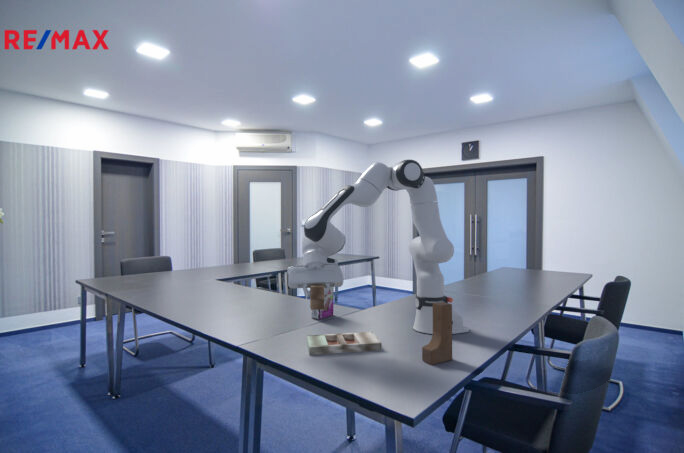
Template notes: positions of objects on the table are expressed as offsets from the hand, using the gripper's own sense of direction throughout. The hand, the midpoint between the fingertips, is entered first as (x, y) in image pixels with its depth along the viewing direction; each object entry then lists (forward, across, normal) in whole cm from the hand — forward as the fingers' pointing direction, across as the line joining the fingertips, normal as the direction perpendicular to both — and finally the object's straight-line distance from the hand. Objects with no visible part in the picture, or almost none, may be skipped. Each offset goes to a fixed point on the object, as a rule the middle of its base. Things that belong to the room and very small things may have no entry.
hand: (317, 296), depth 121 cm
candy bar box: (-16, +7, +43) cm, 47 cm away
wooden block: (+26, +37, 0) cm, 45 cm away
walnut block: (+3, 0, +4) cm, 4 cm away
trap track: (+13, +9, +14) cm, 21 cm away
